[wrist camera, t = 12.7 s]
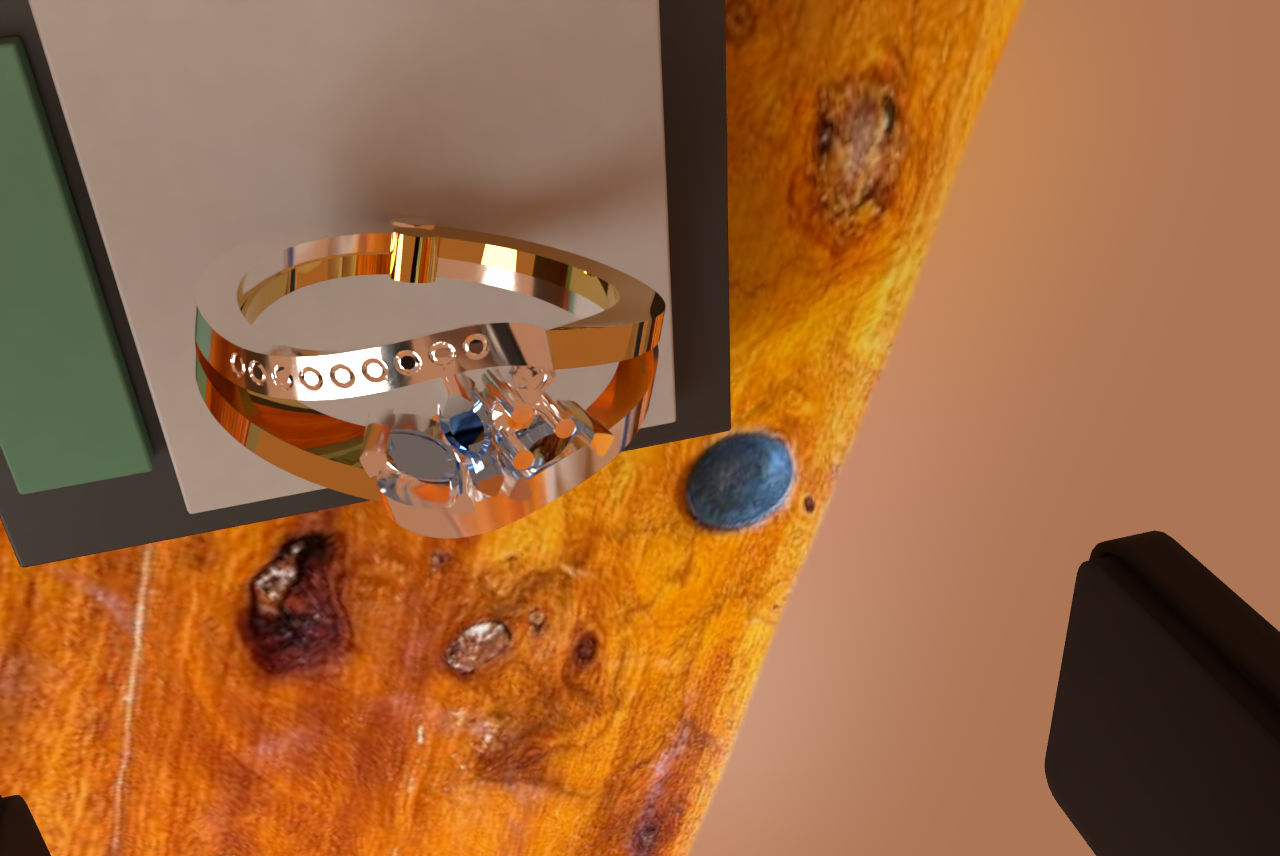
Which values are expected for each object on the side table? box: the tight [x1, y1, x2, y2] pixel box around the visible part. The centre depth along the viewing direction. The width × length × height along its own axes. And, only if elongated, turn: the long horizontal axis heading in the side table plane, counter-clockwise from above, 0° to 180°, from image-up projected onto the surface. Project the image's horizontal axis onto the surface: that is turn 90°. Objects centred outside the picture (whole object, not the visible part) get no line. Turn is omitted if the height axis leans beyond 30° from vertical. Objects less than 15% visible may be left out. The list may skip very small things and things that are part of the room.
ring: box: [193, 216, 666, 538], centre depth 18 cm, size 7×3×8 cm, turn 79°
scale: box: [0, 0, 731, 567], centre depth 22 cm, size 15×12×4 cm
